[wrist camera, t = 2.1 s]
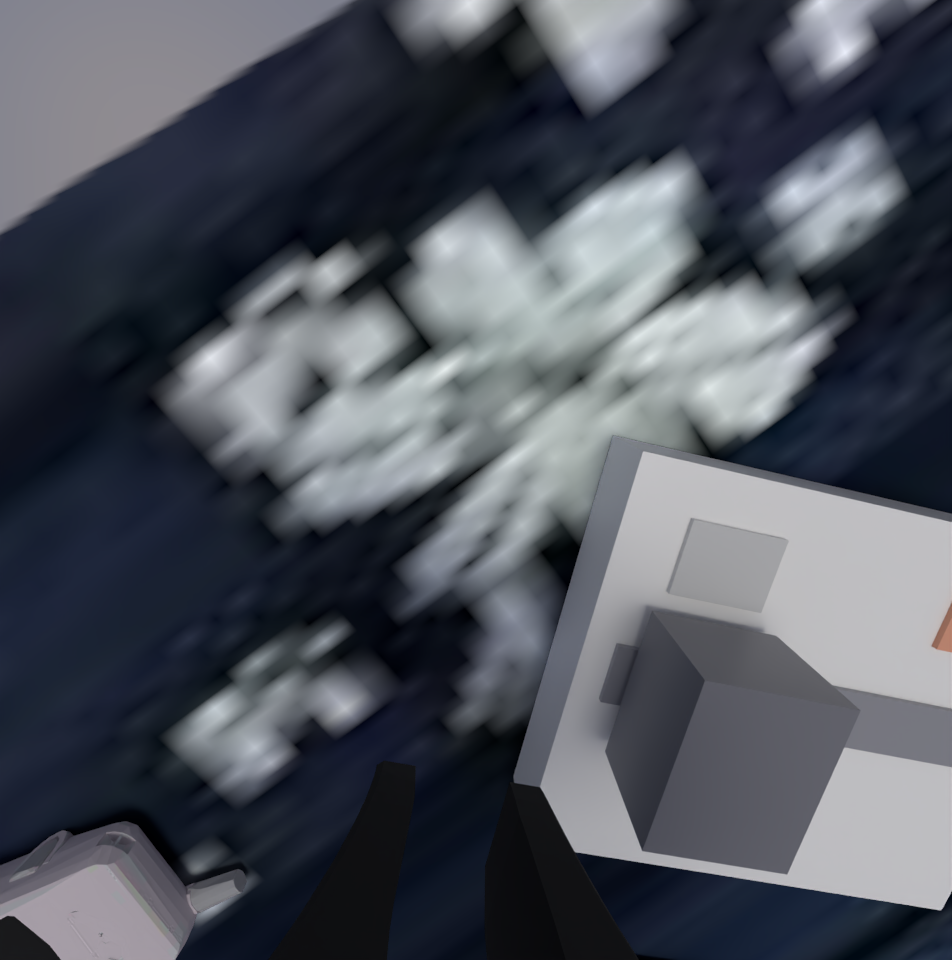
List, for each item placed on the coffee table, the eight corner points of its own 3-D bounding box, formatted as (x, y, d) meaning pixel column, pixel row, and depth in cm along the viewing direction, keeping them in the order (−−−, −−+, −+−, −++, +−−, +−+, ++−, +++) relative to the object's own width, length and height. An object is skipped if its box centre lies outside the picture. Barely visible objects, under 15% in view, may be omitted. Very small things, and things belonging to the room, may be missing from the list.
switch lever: (604, 751, 17) (641, 850, 14) (651, 610, 16) (705, 680, 13) (722, 772, 17) (787, 874, 14) (776, 635, 16) (861, 710, 13)
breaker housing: (513, 776, 21) (523, 848, 18) (613, 435, 18) (645, 452, 15) (878, 838, 23) (946, 916, 20) (1028, 531, 20) (1136, 565, 16)
